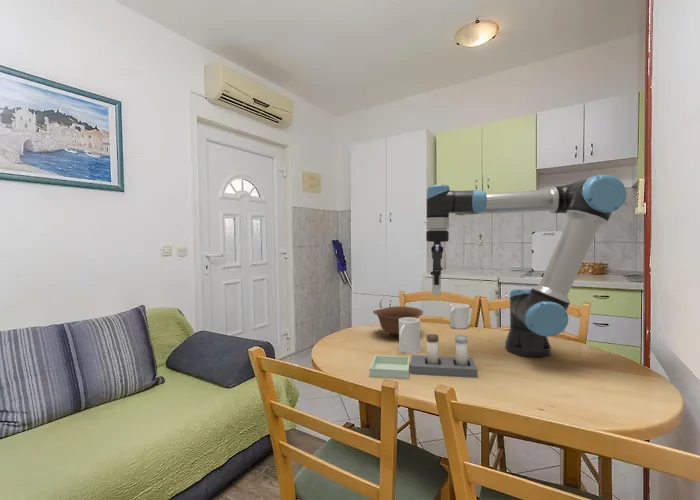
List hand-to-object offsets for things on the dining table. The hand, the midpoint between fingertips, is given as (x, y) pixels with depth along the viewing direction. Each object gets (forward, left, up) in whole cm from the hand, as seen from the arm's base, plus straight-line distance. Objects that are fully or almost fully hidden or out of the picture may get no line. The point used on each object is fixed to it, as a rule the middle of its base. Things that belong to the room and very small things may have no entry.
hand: (436, 291), depth 120 cm
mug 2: (-11, -45, -25) cm, 52 cm away
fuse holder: (-1, +9, -25) cm, 26 cm away
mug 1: (+11, -8, -25) cm, 28 cm away
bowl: (+16, -29, -25) cm, 41 cm away
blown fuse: (+2, +9, -24) cm, 26 cm away
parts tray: (+15, +12, -25) cm, 32 cm away
